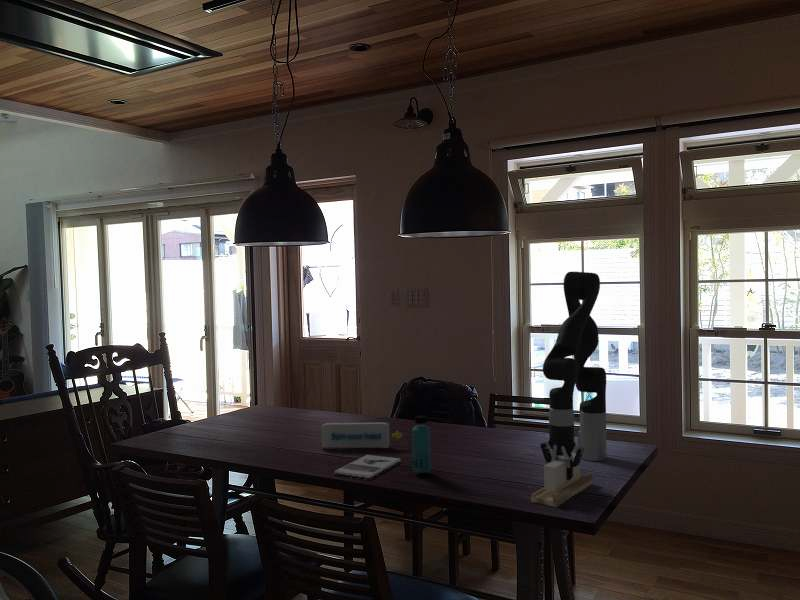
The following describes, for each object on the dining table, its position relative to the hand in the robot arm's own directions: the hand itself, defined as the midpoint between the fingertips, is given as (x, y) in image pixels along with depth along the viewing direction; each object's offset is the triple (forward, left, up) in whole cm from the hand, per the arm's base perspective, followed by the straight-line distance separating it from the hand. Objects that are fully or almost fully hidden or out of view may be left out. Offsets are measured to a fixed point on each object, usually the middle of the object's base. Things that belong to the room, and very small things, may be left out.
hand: (562, 477), depth 197 cm
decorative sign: (-86, -17, -5) cm, 88 cm away
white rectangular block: (0, 0, -1) cm, 1 cm away
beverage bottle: (-43, -21, -5) cm, 48 cm away
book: (-61, -31, -5) cm, 69 cm away
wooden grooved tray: (0, 0, -4) cm, 4 cm away
